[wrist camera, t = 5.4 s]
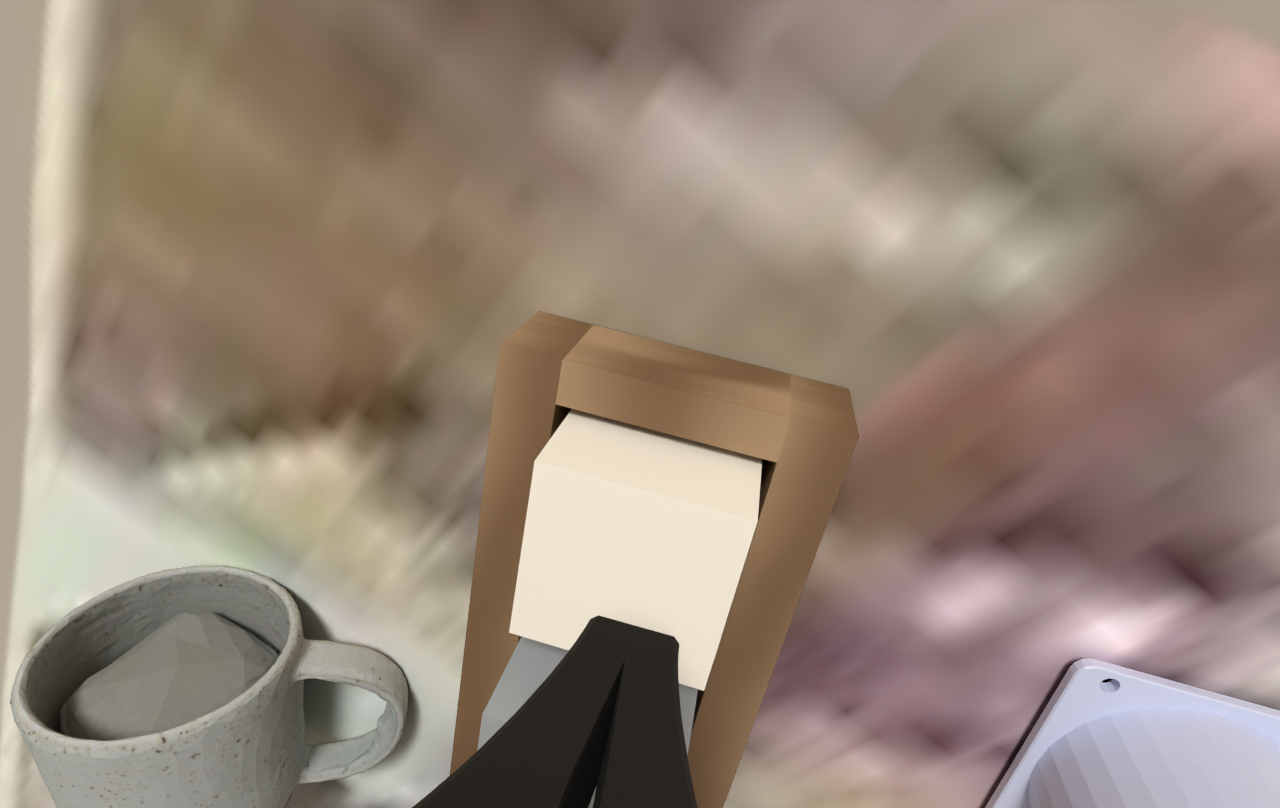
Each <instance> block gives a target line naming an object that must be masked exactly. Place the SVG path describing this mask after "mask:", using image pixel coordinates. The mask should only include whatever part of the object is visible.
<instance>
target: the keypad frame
mask: <svg viewBox="0 0 1280 808" xmlns="http://www.w3.org/2000/svg"><path fill="white" fill-rule="evenodd" d="M571 409H575V410H579V411H583V412H587V413H591V414H594V415H598V416H602V417H606V418H610V419H613V420H617V421H621V422H625V423H628V424H632V425H636V426H640V427H644V428H647V429H651V430H655V431H659V432H663V433H666V434H670V435H674V436H678V437H682V438H685V439H689V440H693V441H697V442H701V443H704V444H708V445H712V446H716V447H719V448H723V449H727V450H731V451H735V452H738V453H742V454H746V455H750V456H754V457H757V458H761V459H765V460H764V463H763V466H762V470H761V484H760V497H759V510H758V522H757V525H756V528H755V532H754V535H753V538H752V541H751V544H750V547H749V551H748V554H747V557H746V560H745V563H744V566H743V569H742V573H741V576H740V579H739V582H738V585H737V588H736V592H735V595H734V598H733V601H732V604H731V607H730V611H729V614H728V617H727V620H726V623H725V626H724V630H723V633H722V636H721V639H720V642H719V645H718V649H717V652H716V655H715V658H714V661H713V664H712V668H711V671H710V674H709V677H708V680H707V683H706V687H705V690H704V691H703V690H699V689H698V692H697V699H696V705H695V711H694V718H693V724H692V731H691V737H690V743H689V750H688V762H689V768H690V773H691V779H692V784H693V789H694V794H695V798H696V802H697V807H698V808H723V806H724V803H725V801H726V798H727V795H728V792H729V790H730V787H731V784H732V781H733V779H734V776H735V773H736V770H737V768H738V765H739V762H740V760H741V757H742V754H743V751H744V749H745V746H746V743H747V740H748V738H749V735H750V732H751V730H752V727H753V724H754V721H755V719H756V716H757V713H758V710H759V708H760V705H761V702H762V700H763V697H764V694H765V691H766V689H767V686H768V683H769V680H770V678H771V675H772V672H773V670H774V667H775V664H776V661H777V659H778V656H779V653H780V650H781V648H782V645H783V642H784V640H785V637H786V634H787V631H788V629H789V626H790V623H791V620H792V618H793V615H794V612H795V609H796V607H797V604H798V601H799V599H800V596H801V593H802V590H803V588H804V585H805V582H806V579H807V577H808V574H809V571H810V569H811V566H812V563H813V560H814V558H815V555H816V552H817V549H818V547H819V544H820V541H821V539H822V536H823V533H824V530H825V528H826V525H827V522H828V519H829V517H830V514H831V511H832V509H833V506H834V503H835V500H836V498H837V495H838V492H839V489H840V487H841V484H842V481H843V479H844V476H845V473H846V470H847V468H848V465H849V462H850V459H851V457H852V454H853V451H854V449H855V446H856V443H857V440H858V438H859V434H858V429H857V424H856V420H855V415H854V410H853V405H852V401H851V396H850V391H849V389H847V388H843V387H839V386H835V385H831V384H827V383H823V382H819V381H815V380H811V379H807V378H803V377H799V376H795V375H791V374H787V373H783V372H779V371H775V370H771V369H767V368H763V367H759V366H755V365H751V364H747V363H743V362H739V361H735V360H731V359H727V358H723V357H719V356H715V355H711V354H707V353H703V352H699V351H695V350H691V349H687V348H683V347H679V346H676V345H672V344H668V343H664V342H660V341H656V340H652V339H648V338H644V337H640V336H636V335H632V334H628V333H624V332H620V331H616V330H612V329H608V328H604V327H600V326H596V325H592V324H588V323H584V322H580V321H576V320H572V319H568V318H564V317H560V316H556V315H552V314H548V313H544V312H540V311H539V312H538V313H537V314H535V315H534V316H533V317H532V318H531V319H529V320H528V321H527V322H526V323H524V324H523V325H522V326H521V327H520V328H518V329H517V330H516V331H515V332H514V333H512V334H511V335H510V336H509V337H508V338H506V339H505V340H504V341H503V342H501V343H500V346H499V355H498V364H497V372H496V381H495V390H494V398H493V407H492V416H491V424H490V433H489V441H488V450H487V459H486V467H485V476H484V485H483V493H482V502H481V511H480V519H479V528H478V537H477V545H476V554H475V562H474V571H473V580H472V588H471V597H470V606H469V614H468V623H467V632H466V640H465V649H464V657H463V666H462V675H461V683H460V692H459V701H458V709H457V718H456V727H455V735H454V744H453V753H452V761H451V770H450V775H451V774H453V773H454V772H455V771H456V770H457V769H458V768H459V767H460V766H461V765H463V764H464V763H465V762H466V761H467V760H468V759H469V758H470V757H471V756H472V755H473V754H475V753H476V752H477V749H478V742H479V735H480V727H481V720H482V714H483V712H484V710H485V708H486V706H487V704H488V702H489V700H490V698H491V696H492V694H493V692H494V690H495V688H496V686H497V684H498V682H499V680H500V678H501V676H502V674H503V672H504V670H505V668H506V666H507V664H508V662H509V660H510V658H511V656H512V654H513V652H514V650H515V649H516V647H517V645H518V643H519V641H520V639H521V637H522V636H519V635H515V634H512V633H509V629H510V622H511V616H512V609H513V602H514V595H515V589H516V582H517V575H518V569H519V562H520V555H521V548H522V542H523V535H524V528H525V522H526V515H527V508H528V501H529V495H530V488H531V481H532V475H533V468H534V461H535V460H536V458H537V457H538V455H539V454H540V453H541V451H542V450H543V448H544V447H545V446H546V444H547V443H548V441H549V440H550V439H551V437H552V436H553V434H554V433H555V432H556V430H557V429H558V427H559V426H560V425H561V423H562V422H563V420H564V419H565V418H566V416H567V415H568V413H569V412H570V411H571Z"/></svg>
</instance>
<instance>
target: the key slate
mask: <svg viewBox="0 0 1280 808" xmlns="http://www.w3.org/2000/svg"><path fill="white" fill-rule="evenodd" d="M568 651H569V650H566V649H562V648H559V647H555V646H552V645H549V644H545V643H542V642H539V641H535V640H532V639H529V638H525V637H521V639H520V641H519V643H518V645H517V647H516V649H515V650H514V652H513V654H512V656H511V658H510V660H509V662H508V664H507V666H506V668H505V670H504V672H503V674H502V676H501V678H500V680H499V682H498V684H497V686H496V688H495V690H494V692H493V694H492V696H491V698H490V700H489V702H488V704H487V706H486V708H485V710H484V712H483V714H482V720H481V727H480V735H479V742H478V749H477V751H478V750H479V749H480V748H481V747H482V746H483V745H484V744H485V743H486V742H487V741H488V740H489V739H490V738H491V737H492V736H493V735H494V734H495V733H496V732H497V731H498V730H499V729H500V728H501V727H502V726H503V725H504V724H505V723H506V722H507V721H508V720H509V719H510V718H511V717H512V716H513V715H514V714H515V713H516V712H517V711H518V710H519V709H520V708H521V706H522V705H523V704H524V703H525V702H526V701H527V700H528V699H529V697H530V696H531V695H532V694H533V693H534V692H535V691H536V690H537V688H538V687H539V686H540V685H541V684H542V683H543V682H544V681H545V679H546V678H547V677H548V676H549V675H550V674H551V673H552V671H553V670H554V669H555V668H556V666H557V665H558V664H559V663H560V661H561V660H562V659H563V658H564V656H565V655H566V654H567V653H568ZM697 692H698V689H696V688H693V687H689V686H686V685H683V684H679V695H680V706H681V716H682V724H683V731H684V737H685V744H686V750H687V756H688V750H689V743H690V737H691V731H692V724H693V718H694V711H695V705H696V699H697ZM595 792H596V788H595V791H594V794H593V796H592V799H591V802H590V804H589V807H588V808H593V803H594V797H595Z"/></svg>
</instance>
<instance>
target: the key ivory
mask: <svg viewBox="0 0 1280 808" xmlns="http://www.w3.org/2000/svg"><path fill="white" fill-rule="evenodd" d="M761 470H762V459H761V458H757V457H754V456H750V455H746V454H742V453H738V452H735V451H731V450H727V449H723V448H719V447H716V446H712V445H708V444H704V443H701V442H697V441H693V440H689V439H685V438H682V437H678V436H674V435H670V434H666V433H663V432H659V431H655V430H651V429H647V428H644V427H640V426H636V425H632V424H628V423H625V422H621V421H617V420H613V419H610V418H606V417H602V416H598V415H594V414H591V413H587V412H583V411H579V410H575V409H571V411H570V412H569V413H568V415H567V416H566V418H565V419H564V420H563V422H562V423H561V425H560V426H559V427H558V429H557V430H556V432H555V433H554V434H553V436H552V437H551V439H550V440H549V441H548V443H547V444H546V446H545V447H544V448H543V450H542V451H541V453H540V454H539V455H538V457H537V458H536V460H535V461H534V468H533V475H532V481H531V488H530V495H529V501H528V508H527V515H526V522H525V528H524V535H523V542H522V548H521V555H520V562H519V569H518V575H517V582H516V589H515V595H514V602H513V609H512V616H511V622H510V629H509V633H512V634H515V635H519V636H522V637H525V638H529V639H532V640H535V641H539V642H542V643H545V644H549V645H552V646H555V647H559V648H562V649H566V650H570V649H571V647H572V646H573V645H574V643H575V642H576V640H577V639H578V637H579V636H580V635H581V633H582V632H583V630H584V629H585V627H586V625H587V624H588V622H589V620H590V619H591V618H594V617H596V616H598V615H599V616H603V617H606V618H610V619H613V620H617V621H621V622H624V623H628V624H631V625H635V626H638V627H642V628H646V629H649V630H653V631H656V632H660V633H663V634H667V635H671V636H674V637H675V638H676V640H677V641H678V643H679V653H678V681H679V684H683V685H686V686H689V687H693V688H696V689H699V690H703V691H704V690H705V687H706V683H707V680H708V677H709V674H710V671H711V668H712V664H713V661H714V658H715V655H716V652H717V649H718V645H719V642H720V639H721V636H722V633H723V630H724V626H725V623H726V620H727V617H728V614H729V611H730V607H731V604H732V601H733V598H734V595H735V592H736V588H737V585H738V582H739V579H740V576H741V573H742V569H743V566H744V563H745V560H746V557H747V554H748V551H749V547H750V544H751V541H752V538H753V535H754V532H755V528H756V525H757V522H758V510H759V497H760V484H761Z"/></svg>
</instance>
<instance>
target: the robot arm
mask: <svg viewBox="0 0 1280 808" xmlns="http://www.w3.org/2000/svg"><path fill="white" fill-rule="evenodd" d="M678 653H679V643H678V641H677V640H676V638H675V637H674V636H671V635H667V634H663V633H660V632H656V631H653V630H649V629H646V628H642V627H638V626H635V625H631V624H628V623H624V622H621V621H617V620H613V619H610V618H606V617H603V616H599V615H598V616H596V617H594V618H591V619H590V620H589V622H588V624H587V625H586V627H585V629H584V630H583V632H582V633H581V635H580V636H579V637H578V639H577V640H576V642H575V643H574V645H573V646H572V647H571V649H570V650H569V651H568V653H567V654H566V655H565V656H564V658H563V659H562V660H561V661H560V663H559V664H558V665H557V666H556V668H555V669H554V670H553V671H552V673H551V674H550V675H549V676H548V677H547V678H546V679H545V681H544V682H543V683H542V684H541V685H540V686H539V687H538V688H537V690H536V691H535V692H534V693H533V694H532V695H531V696H530V697H529V699H528V700H527V701H526V702H525V703H524V704H523V705H522V706H521V708H520V709H519V710H518V711H517V712H516V713H515V714H514V715H513V716H512V717H511V718H510V719H509V720H508V721H507V722H506V723H505V724H504V725H503V726H502V727H501V728H500V729H499V730H498V731H497V732H496V733H495V734H494V735H493V736H492V737H491V738H490V739H489V740H488V741H487V742H486V743H485V744H484V745H483V746H482V747H481V748H480V749H479V750H478V751H477V752H476V753H475V754H473V755H472V756H471V757H470V758H469V759H468V760H467V761H466V762H465V763H464V764H463V765H461V766H460V767H459V768H458V769H457V770H456V771H455V772H454V773H453V774H451V775H450V776H449V777H448V778H447V779H446V780H445V781H443V782H442V783H441V784H440V785H439V786H438V787H436V788H435V789H434V790H433V791H432V792H430V793H429V794H428V795H427V796H426V797H425V798H423V799H422V800H421V801H420V802H419V803H417V804H416V805H415V806H414V807H412V808H588V807H589V804H590V802H591V799H592V796H593V794H594V791H595V788H596V792H595V797H594V803H593V808H698V807H697V802H696V798H695V794H694V789H693V784H692V779H691V773H690V768H689V762H688V756H687V750H686V744H685V737H684V731H683V724H682V716H681V706H680V695H679V681H678ZM1109 678H1110V679H1112V680H1111V681H1109V682H1106V683H1103V682H1102V681H1103V680H1105V679H1109ZM985 808H1280V711H1279V710H1275V709H1272V708H1268V707H1265V706H1261V705H1257V704H1254V703H1250V702H1247V701H1243V700H1240V699H1236V698H1232V697H1229V696H1225V695H1222V694H1218V693H1214V692H1211V691H1207V690H1204V689H1200V688H1196V687H1193V686H1189V685H1186V684H1182V683H1179V682H1175V681H1171V680H1168V679H1164V678H1161V677H1157V676H1153V675H1150V674H1146V673H1143V672H1139V671H1136V670H1132V669H1128V668H1125V667H1121V666H1118V665H1114V664H1110V663H1107V662H1103V661H1100V660H1096V659H1089V658H1087V659H1080V660H1078V661H1076V662H1074V663H1073V664H1072V665H1071V666H1070V668H1069V669H1068V671H1067V673H1066V674H1065V676H1064V678H1063V679H1062V681H1061V683H1060V684H1059V686H1058V688H1057V689H1056V691H1055V693H1054V694H1053V696H1052V697H1051V699H1050V701H1049V702H1048V704H1047V706H1046V707H1045V709H1044V711H1043V712H1042V714H1041V716H1040V717H1039V719H1038V721H1037V722H1036V724H1035V726H1034V727H1033V729H1032V731H1031V732H1030V734H1029V736H1028V737H1027V739H1026V741H1025V742H1024V744H1023V745H1022V747H1021V749H1020V750H1019V752H1018V754H1017V755H1016V757H1015V759H1014V760H1013V762H1012V764H1011V765H1010V767H1009V769H1008V770H1007V772H1006V774H1005V775H1004V777H1003V779H1002V780H1001V782H1000V784H999V785H998V787H997V789H996V790H995V792H994V794H993V795H992V797H991V798H990V800H989V802H988V803H987V805H986V807H985Z"/></svg>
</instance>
